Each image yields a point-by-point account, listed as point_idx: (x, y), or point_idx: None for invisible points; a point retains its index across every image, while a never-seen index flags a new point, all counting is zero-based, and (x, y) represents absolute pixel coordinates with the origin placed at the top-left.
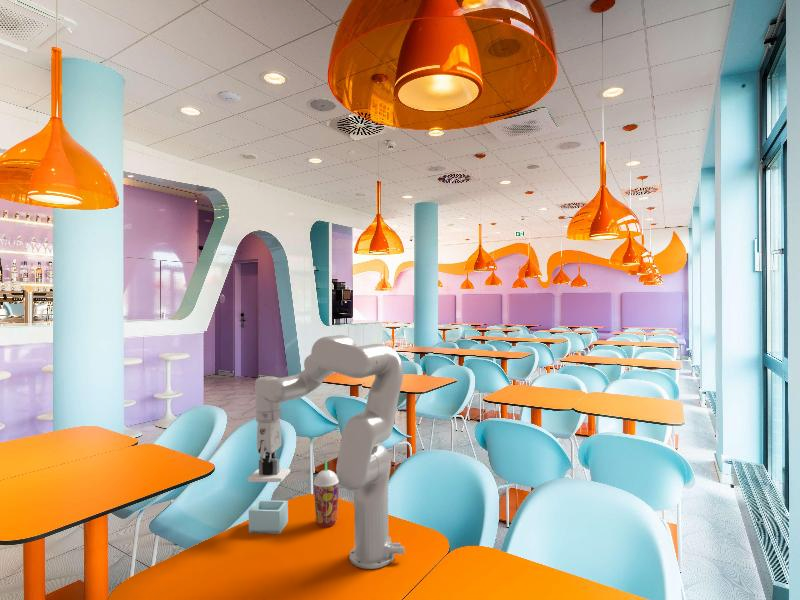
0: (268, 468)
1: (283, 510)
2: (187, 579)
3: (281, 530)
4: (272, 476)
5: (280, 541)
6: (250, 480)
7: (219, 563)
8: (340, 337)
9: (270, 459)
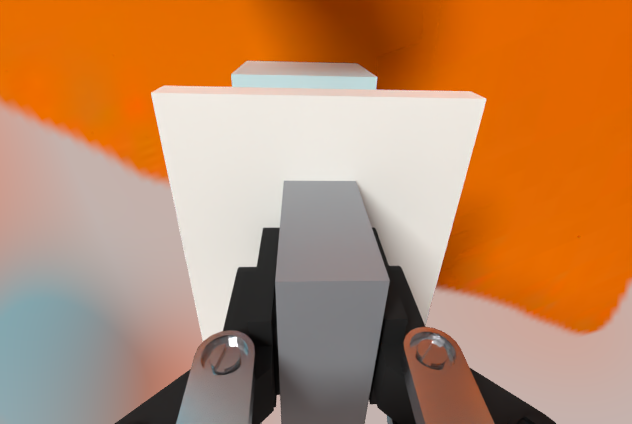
0: (410, 291)
1: (309, 72)
2: (598, 238)
3: (334, 63)
4: (405, 206)
5: (424, 35)
6: None
7: (538, 196)
8: None
9: (439, 364)
